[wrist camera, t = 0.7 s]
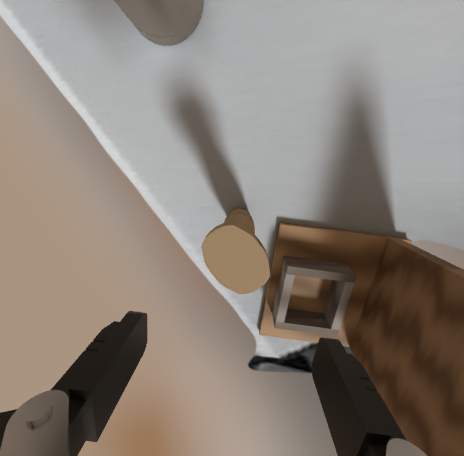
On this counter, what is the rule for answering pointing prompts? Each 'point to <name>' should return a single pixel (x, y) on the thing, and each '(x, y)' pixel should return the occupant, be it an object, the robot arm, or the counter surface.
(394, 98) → the counter surface
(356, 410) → the robot arm
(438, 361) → the board
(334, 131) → the counter surface
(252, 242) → the handle
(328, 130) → the counter surface
